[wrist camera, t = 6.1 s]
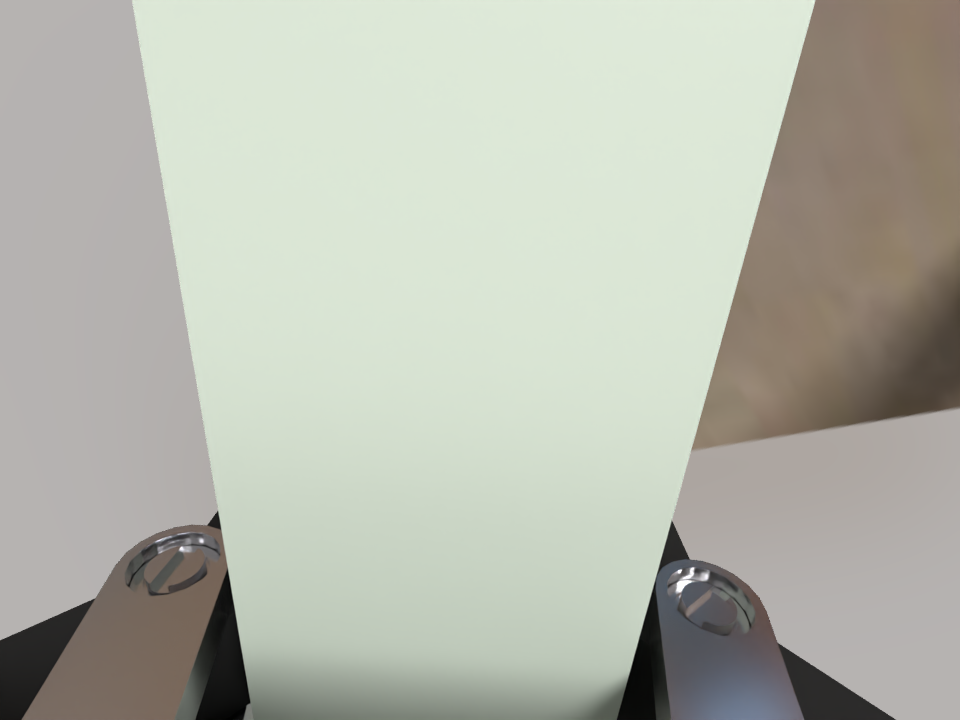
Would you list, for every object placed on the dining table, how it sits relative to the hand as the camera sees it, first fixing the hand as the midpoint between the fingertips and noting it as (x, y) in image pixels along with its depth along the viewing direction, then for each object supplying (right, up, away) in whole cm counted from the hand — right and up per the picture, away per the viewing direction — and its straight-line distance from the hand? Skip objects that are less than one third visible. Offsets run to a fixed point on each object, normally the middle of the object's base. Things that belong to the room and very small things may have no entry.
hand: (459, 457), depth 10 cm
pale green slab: (0, +6, +14) cm, 15 cm away
